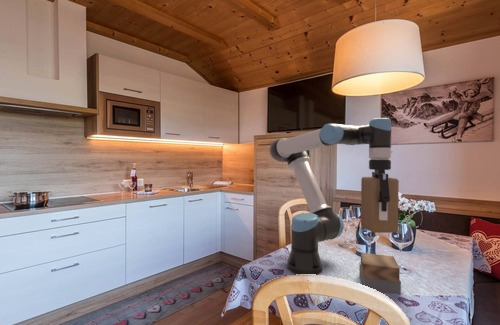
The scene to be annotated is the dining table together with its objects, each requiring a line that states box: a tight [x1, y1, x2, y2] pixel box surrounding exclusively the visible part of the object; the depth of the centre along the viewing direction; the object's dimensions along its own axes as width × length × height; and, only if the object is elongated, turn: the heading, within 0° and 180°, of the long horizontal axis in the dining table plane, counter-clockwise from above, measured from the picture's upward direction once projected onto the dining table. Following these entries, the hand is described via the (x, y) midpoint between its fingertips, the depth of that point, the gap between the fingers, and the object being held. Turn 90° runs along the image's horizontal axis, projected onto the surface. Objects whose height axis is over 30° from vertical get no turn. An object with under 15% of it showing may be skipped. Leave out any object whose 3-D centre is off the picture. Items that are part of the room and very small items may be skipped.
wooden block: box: [360, 176, 400, 234], centre depth 101 cm, size 10×10×20 cm
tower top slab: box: [360, 252, 401, 282], centre depth 101 cm, size 12×12×5 cm
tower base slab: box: [358, 264, 402, 295], centre depth 102 cm, size 12×12×5 cm
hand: (379, 216), depth 101 cm, fingers closed on wooden block, 11 cm apart
